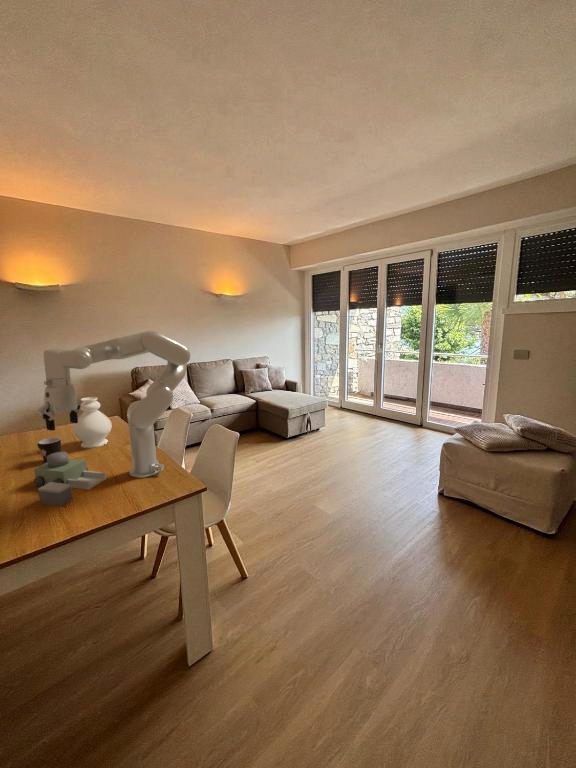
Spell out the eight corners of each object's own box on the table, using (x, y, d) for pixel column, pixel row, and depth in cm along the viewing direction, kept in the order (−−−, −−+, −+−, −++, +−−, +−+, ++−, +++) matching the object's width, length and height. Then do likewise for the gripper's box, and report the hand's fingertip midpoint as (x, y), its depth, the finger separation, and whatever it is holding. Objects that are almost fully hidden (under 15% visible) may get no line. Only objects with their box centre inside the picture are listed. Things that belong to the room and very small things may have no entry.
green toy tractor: (109, 476, 139) (107, 452, 137) (84, 492, 126) (80, 465, 124) (62, 471, 144) (59, 447, 142) (33, 486, 131) (29, 460, 129)
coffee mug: (66, 460, 156) (63, 440, 154) (44, 466, 149) (40, 445, 148) (59, 453, 163) (56, 434, 161) (37, 459, 157) (34, 439, 155)
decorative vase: (96, 451, 166) (90, 403, 162) (66, 448, 170) (60, 401, 165) (120, 438, 183) (116, 395, 179) (93, 436, 187) (88, 394, 182)
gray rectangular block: (72, 499, 122) (70, 484, 121) (61, 506, 117) (58, 491, 116) (52, 496, 124) (50, 482, 123) (40, 503, 119) (37, 488, 118)
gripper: (44, 386, 113) (49, 434, 116) (86, 379, 130) (89, 421, 133) (27, 385, 115) (32, 432, 118) (71, 378, 132) (75, 419, 135)
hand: (63, 426), depth 125 cm, fingers open, 9 cm apart
